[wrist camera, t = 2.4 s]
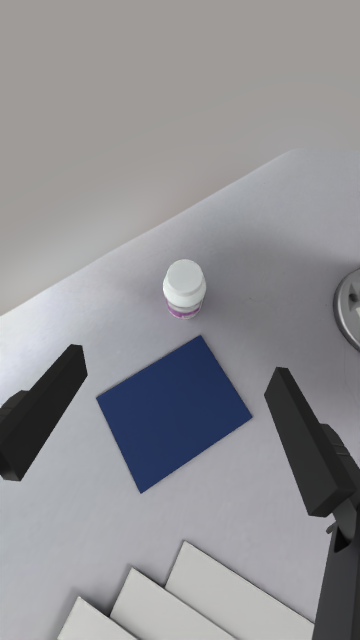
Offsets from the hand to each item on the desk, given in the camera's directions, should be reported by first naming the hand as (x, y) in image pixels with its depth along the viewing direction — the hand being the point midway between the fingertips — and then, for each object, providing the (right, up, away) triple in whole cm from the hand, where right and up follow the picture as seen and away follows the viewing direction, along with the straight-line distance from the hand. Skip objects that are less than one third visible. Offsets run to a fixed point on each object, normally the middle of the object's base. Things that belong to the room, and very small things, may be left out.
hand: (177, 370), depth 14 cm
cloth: (-1, -8, +14) cm, 16 cm away
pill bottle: (+1, +6, +17) cm, 18 cm away
